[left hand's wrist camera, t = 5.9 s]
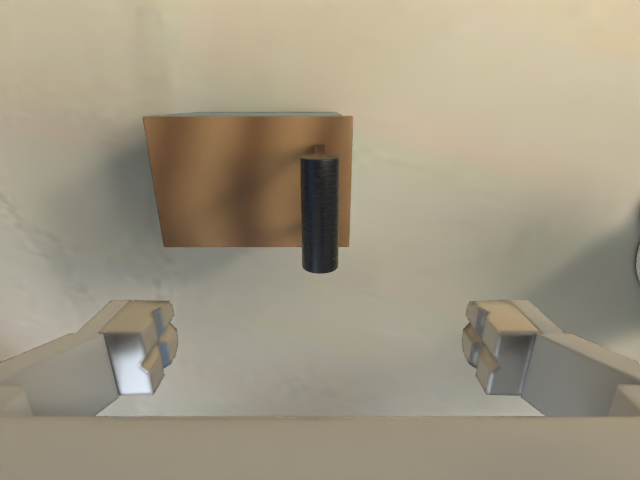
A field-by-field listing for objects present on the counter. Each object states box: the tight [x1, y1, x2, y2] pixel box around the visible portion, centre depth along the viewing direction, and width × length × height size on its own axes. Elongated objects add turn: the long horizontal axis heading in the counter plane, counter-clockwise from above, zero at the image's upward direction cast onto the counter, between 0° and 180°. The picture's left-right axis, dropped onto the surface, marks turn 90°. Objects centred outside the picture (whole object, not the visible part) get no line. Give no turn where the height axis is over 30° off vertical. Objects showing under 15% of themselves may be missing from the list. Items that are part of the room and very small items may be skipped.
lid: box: [143, 116, 353, 273], centre depth 23 cm, size 14×10×9 cm
